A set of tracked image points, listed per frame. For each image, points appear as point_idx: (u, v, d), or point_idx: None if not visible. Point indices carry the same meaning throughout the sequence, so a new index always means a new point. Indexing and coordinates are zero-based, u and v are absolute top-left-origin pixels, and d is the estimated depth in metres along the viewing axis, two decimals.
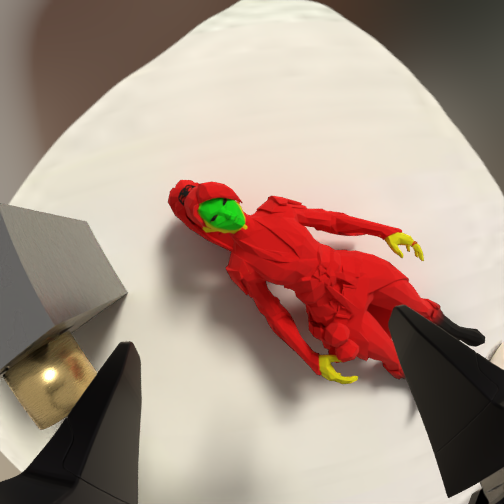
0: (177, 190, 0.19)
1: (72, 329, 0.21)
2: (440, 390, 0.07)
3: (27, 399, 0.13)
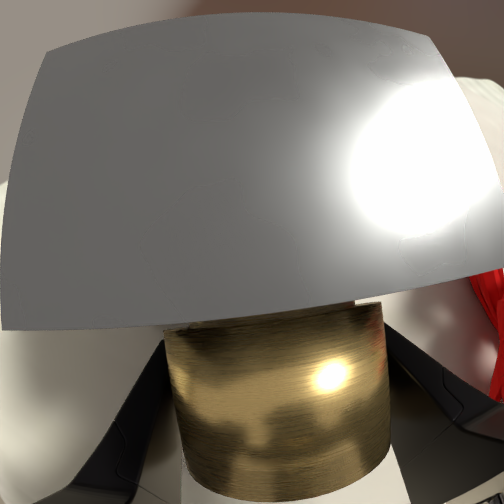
0: None
1: None
2: (402, 404, 0.07)
3: (287, 421, 0.05)
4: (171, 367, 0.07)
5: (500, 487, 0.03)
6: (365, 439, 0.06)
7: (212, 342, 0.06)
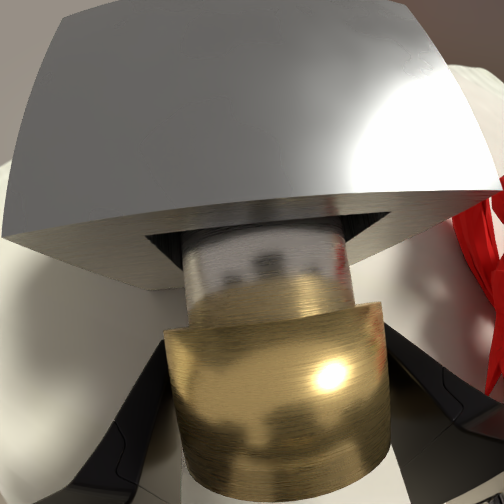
0: None
1: None
2: (402, 405, 0.07)
3: (287, 422, 0.05)
4: (171, 367, 0.07)
5: (500, 487, 0.03)
6: (365, 439, 0.06)
7: (212, 342, 0.06)
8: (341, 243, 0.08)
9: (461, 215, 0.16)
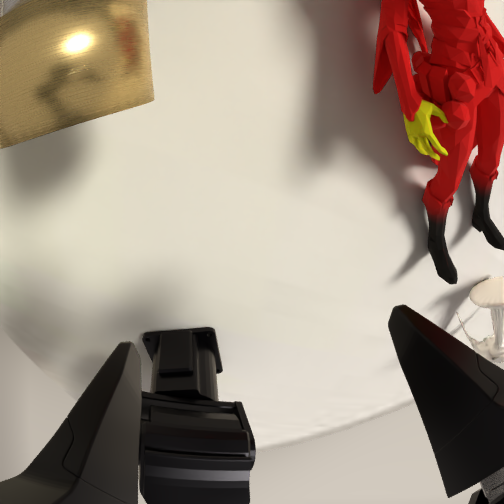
0: None
1: None
2: (440, 390, 0.07)
3: (12, 73, 0.05)
4: None
5: None
6: (73, 87, 0.06)
7: None
8: None
9: None
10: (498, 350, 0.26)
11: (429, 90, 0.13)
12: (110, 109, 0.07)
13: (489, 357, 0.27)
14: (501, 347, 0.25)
